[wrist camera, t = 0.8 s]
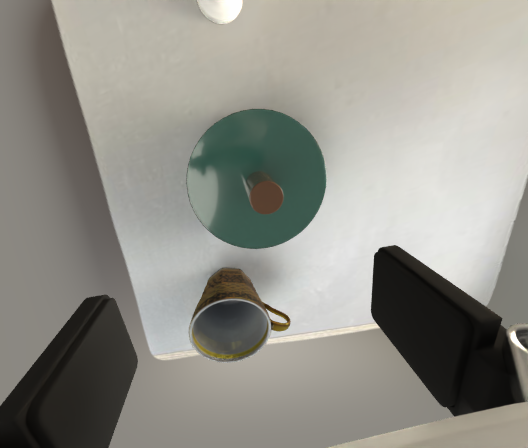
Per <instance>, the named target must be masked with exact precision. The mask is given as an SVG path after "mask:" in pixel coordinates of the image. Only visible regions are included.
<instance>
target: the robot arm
mask: <svg viewBox="0 0 528 448" xmlns="http://www.w3.org/2000/svg"><path fill="white" fill-rule="evenodd" d="M371 313H372V317H373V319H374V320H375V322H376V323H377V324H378V326H379V327H380V328H381V329H382V330H383V332H384V333H385V335H386V336H387V337H388V338H389V340H390V341H391V342H392V344H393V345H394V346H395V347H396V349H397V350H398V351H399V353H400V354H401V355H402V356H403V358H404V359H405V360H406V362H407V363H408V364H409V365H410V367H411V368H412V369H413V371H414V372H415V373H416V374H417V376H418V377H419V378H420V379H421V381H422V382H423V383H424V385H425V386H426V387H427V388H428V390H429V391H430V392H431V394H432V395H433V396H434V397H435V399H436V400H437V401H438V402H439V403H440V404H441V405H442V406H443V407H447V408H448V409H449V410H450V412H451V413H452V414H453V415H454V417H451V418H447V419H443V420H439V421H435V422H431V423H426V424H422V425H418V426H414V427H410V428H406V429H401V430H397V431H393V432H389V433H384V434H380V435H377V436H372V437H368V438H364V439H359V440H356V441H351V442H347V443H343V444H339V445H335V446H331V447H327V448H528V323H519V324H518V323H517V324H514V325H511V326H510V327H509V328H508V329H505V328H504V327H503V326H501V325H500V324H501V321H502V318H501V317H500V316H498V315H497V314H495V313H494V312H492V311H491V310H490V309H488V308H487V307H485V306H484V305H482V304H481V303H480V302H478V301H477V300H475V299H474V298H472V297H471V296H469V295H468V294H467V293H465V292H464V291H462V290H461V289H459V288H458V287H456V286H455V285H453V284H452V283H451V282H449V281H448V280H446V279H445V278H443V277H442V276H440V275H439V274H438V273H436V272H435V271H433V270H432V269H430V268H429V267H427V266H426V265H424V264H423V263H422V262H420V261H419V260H417V259H416V258H414V257H413V256H411V255H410V254H409V253H407V252H406V251H404V250H403V249H401V248H400V247H398V246H396V245H393V246H388V247H382V248H380V249H379V250H378V252H376V253H375V255H374V268H373V285H372V302H371ZM137 362H138V360H137V355H136V352H135V350H134V347H133V344H132V342H131V339H130V337H129V334H128V332H127V329H126V326H125V324H124V321H123V319H122V316H121V314H120V311H119V308H118V306H117V303H116V301H115V299H114V298H109V296H108V295H101V296H95V297H89V298H86V299H85V300H84V301H83V302H82V304H81V305H80V306H79V307H78V309H77V310H76V311H75V313H74V314H73V315H72V316H71V318H70V319H69V320H68V321H67V323H66V324H65V325H64V326H63V328H62V329H61V330H60V331H59V333H58V334H57V335H56V336H55V338H54V339H53V340H52V342H51V343H50V344H49V345H48V347H47V348H46V349H45V351H44V352H43V353H42V354H41V356H40V357H39V358H38V359H37V360H36V362H35V363H34V364H33V365H32V367H31V368H30V369H29V371H28V372H27V373H26V374H25V376H24V377H23V378H22V379H21V381H20V382H19V383H18V384H17V386H16V387H15V389H14V390H13V391H12V392H11V393H10V395H9V396H8V397H7V398H6V400H5V401H4V402H3V403H2V405H1V406H0V448H108V447H109V444H110V441H111V439H112V436H113V433H114V430H115V427H116V425H117V422H118V419H119V416H120V413H121V410H122V407H123V405H124V402H125V399H126V397H127V393H128V391H129V388H130V385H131V382H132V380H133V377H134V374H135V371H136V368H137Z"/></svg>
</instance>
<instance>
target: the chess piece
mask: <svg viewBox="0 0 528 448" xmlns="http://www.w3.org/2000/svg"><path fill="white" fill-rule="evenodd" d="M197 3H198V5H199V8H200V10H201V11H202V13H203V14H204V15H205V16H206V17H207V18H208V19H209V20H211V21H212V22H215V23H218V24H226V23H229V22H231V21H232V20H234V19H235V18H236V17H237V15H238V14H239V12H240V10H241V7H242V0H197Z"/></svg>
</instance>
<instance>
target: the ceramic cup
mask: <svg viewBox="0 0 528 448" xmlns="http://www.w3.org/2000/svg"><path fill="white" fill-rule="evenodd" d="M266 309H267V310H269V311H270V312H272V313H274V314H276V315H279V316H281V317H283V318H284V319H286V320H287V323H279V322H275V321H273V320H271V319H270V317H269V315H268V312H267V310H266ZM289 326H290V318H289V317H288V316H287V315H286V314H284V313H282V312H280V311H278V310H276V309H274V308H272V307H270V306H269V305H267V304H265V303H263V302H262V301H261V299H260V298H259V296H258V294H257V292H256V290H255V288H254V287H253V284H252V282H251V280H250V279H249V278H248V277H247V276H246V275H245V274H244V272H243V271H242V270H240V269H232V268H222V269H221V270H219V271H218V272H217V273H215V274H214V275H213V276H211V277H210V278H209V280H208V282H207V285H206V287H205V289H204V292H203V294H202V297H201V299H200V301H199V303H198V305H197V307H196V309H195V312H194V314H193V317H192V320H191V323H190V327H189V338H190V342H191V344H192V346H193V348H194V349H195V350H196V351H197V352H198V353H199V354H200V355H202V356H203V357H205V358H207V359H209V360H212V361H216V362H223V363H224V362H225V363H228V362H237V361H241V360H244V359H246V358H249V357H251V356H253V355H254V354H256V353H257V352H259V351H260V350H261V349H262V348H263V347H264V345H265V344H266V343H267V341H268V339H269V337H270V333H271V330H274V331H284V330H286V329H288V327H289Z"/></svg>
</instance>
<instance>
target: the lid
mask: <svg viewBox="0 0 528 448" xmlns="http://www.w3.org/2000/svg"><path fill="white" fill-rule="evenodd" d="M325 188H326V166H325V161H324V158H323V155H322V152H321V149H320V147H319V145H318V143H317V142H316V140H315V139H314V137H313V136H312V135H311V133H310V132H309V131H308V130H307V129H306V128H305V127H304V126H303V125H301V124H300V123H299V122H298V121H296V120H295V119H293V118H291V117H289V116H287V115H285V114H283V113H280V112H276V111H273V110H266V109H250V110H243V111H240V112H236V113H233V114H231V115H229V116H227V117H224V118H223V119H221V120H220V121H218V122H216V123H215V124H214V125H213V126H212V127H210V128H209V129H208V130H207V131H206V132H205V133H204V135H203V136H202V137H201V138H200V140H199V141H198V143H197V144H196V146H195V148H194V150H193V152H192V155H191V157H190V161H189V164H188V170H187V191H188V196H189V200H190V203H191V206H192V208H193V210H194V212H195V214H196V216H197V217H198V219H199V220H200V222H201V223H202V224H203V226H204V227H205V228H206V229H207V230H208V231H209V232H211V233H212V234H213V235H215V236H216V237H217V238H219V239H221V240H222V241H224V242H227V243H229V244H231V245H234V246H238V247H242V248H250V249H259V248H268V247H273V246H276V245H279V244H282V243H284V242H286V241H288V240H290V239H291V238H293V237H295V236H296V235H297V234H299V233H300V232H301V231H303V230H304V229H305V228H306V227H307V226H308V224H309V223H310V222H311V221H312V219H313V218H314V217H315V215H316V213H317V212H318V210H319V208H320V205H321V203H322V200H323V197H324V193H325Z"/></svg>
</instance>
